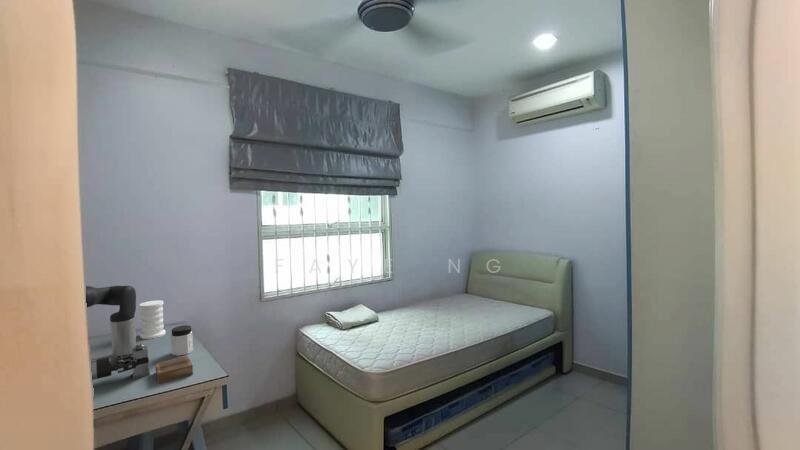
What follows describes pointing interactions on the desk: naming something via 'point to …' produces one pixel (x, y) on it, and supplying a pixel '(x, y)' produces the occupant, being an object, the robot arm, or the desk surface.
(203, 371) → the desk surface
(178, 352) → the jar
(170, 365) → the stand
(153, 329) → the decorative container
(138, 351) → the block
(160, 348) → the desk surface
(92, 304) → the robot arm
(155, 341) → the desk surface
